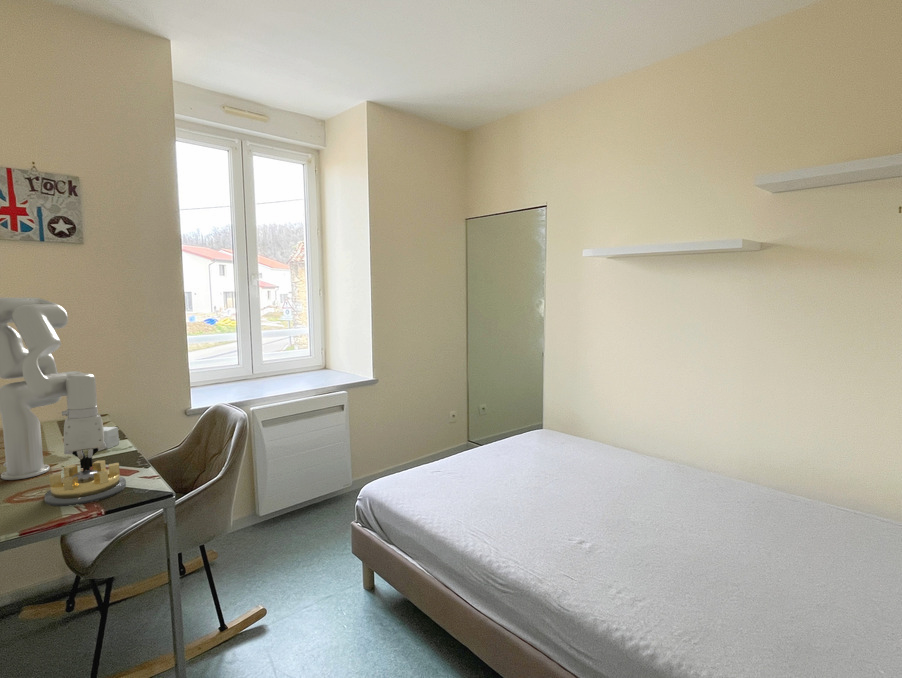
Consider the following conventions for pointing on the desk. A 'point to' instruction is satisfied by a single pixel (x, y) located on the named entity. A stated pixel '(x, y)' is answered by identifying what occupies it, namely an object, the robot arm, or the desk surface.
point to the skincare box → (111, 436)
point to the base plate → (85, 499)
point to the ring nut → (84, 480)
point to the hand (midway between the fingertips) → (86, 469)
